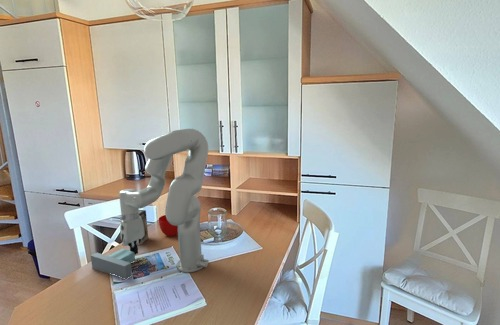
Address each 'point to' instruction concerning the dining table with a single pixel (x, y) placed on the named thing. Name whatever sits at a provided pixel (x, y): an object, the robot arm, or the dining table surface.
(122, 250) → the block
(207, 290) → the dining table surface
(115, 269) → the board
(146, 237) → the coffee box
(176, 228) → the ceramic cup
